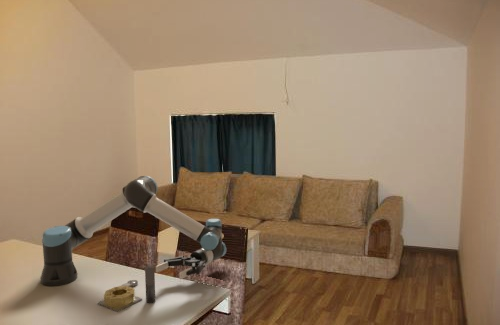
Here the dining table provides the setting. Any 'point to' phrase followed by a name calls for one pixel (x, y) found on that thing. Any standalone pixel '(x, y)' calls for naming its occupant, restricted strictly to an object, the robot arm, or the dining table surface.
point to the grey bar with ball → (130, 283)
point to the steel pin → (150, 284)
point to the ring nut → (119, 298)
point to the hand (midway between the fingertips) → (167, 272)
